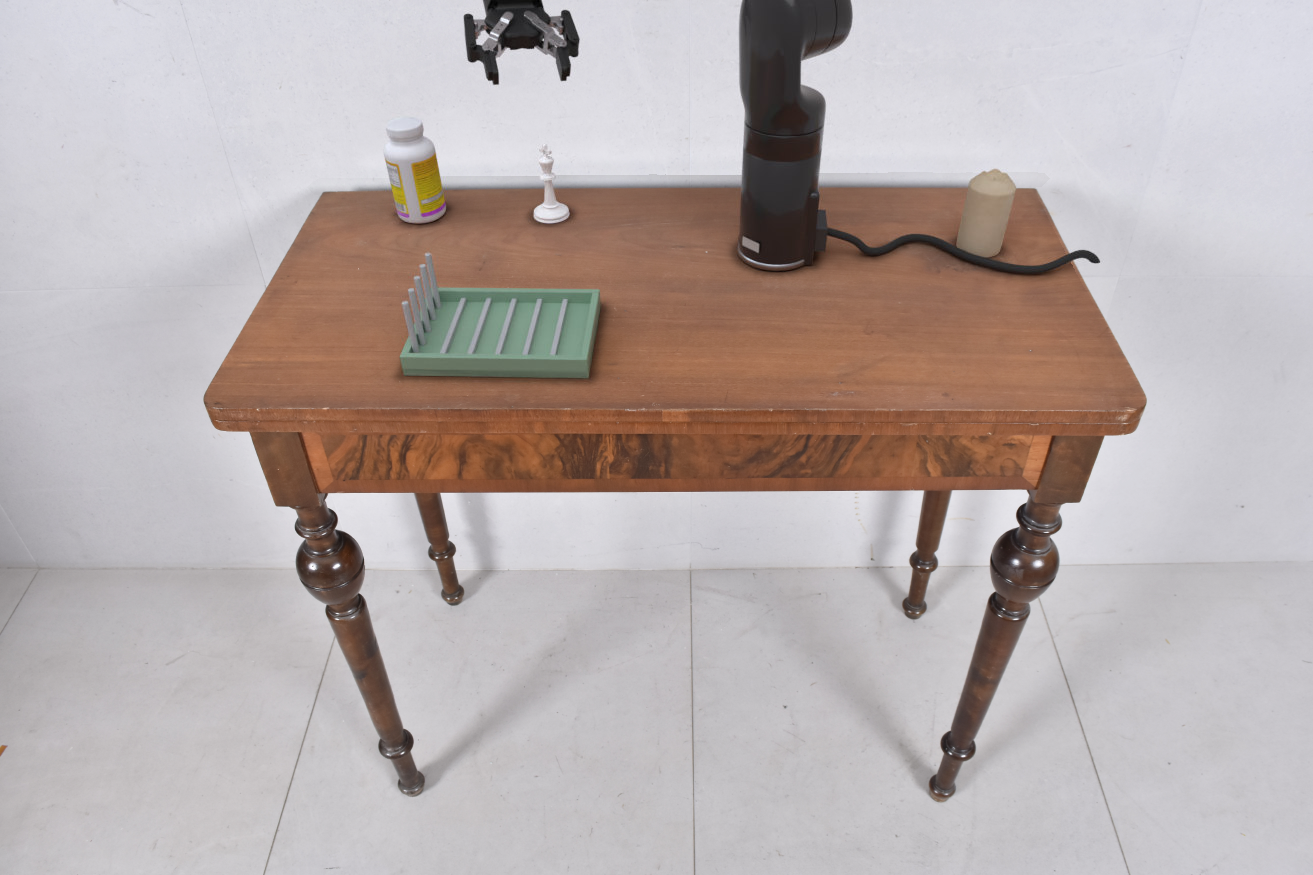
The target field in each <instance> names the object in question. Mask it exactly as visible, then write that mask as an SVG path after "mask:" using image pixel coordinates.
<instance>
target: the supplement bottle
mask: <svg viewBox="0 0 1313 875" xmlns="http://www.w3.org/2000/svg"><path fill="white" fill-rule="evenodd" d="M385 130H386V135H387V136H388V138H389V141H388V142H387V143H386V144H385V145H384V147H383V157H384V161H385V165H386V170H387V174H388V178H389V182H390V188H391V192H392V197H393V200H394V206H395V209H396V213H397V216H398V217H399V219H400V220H402V221H403V222H406V223H409V224H427V223H432V222H434V221H436V220H439V219H440V218H442V217H443V215H445V213H446V210H447V205H446V199H445V193H444V189H443V184H442V178H441V173H440V168H439V162H438V156H437V152H436V146H435V145H434V142H433V141H432V140H431V139H430V138H428V137H427V136H424V131H425V129H424V124H423V121H422V119H421V118H418V117H415V116H401V117H396V118H393V119H390V120H389V121H387V122H386V124H385Z"/></svg>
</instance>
